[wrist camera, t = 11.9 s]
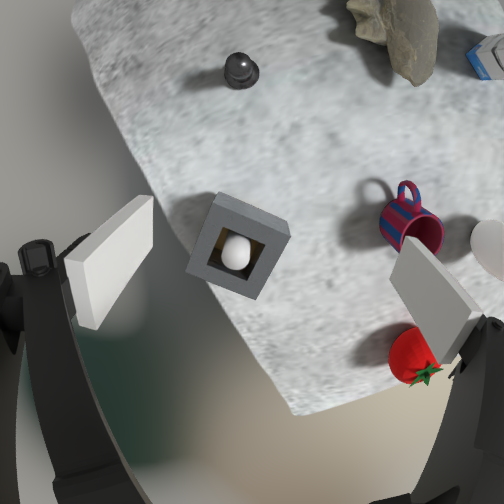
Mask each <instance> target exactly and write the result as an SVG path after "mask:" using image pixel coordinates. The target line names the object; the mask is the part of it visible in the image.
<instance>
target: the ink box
mask: <svg viewBox="0 0 504 504" xmlns="http://www.w3.org/2000/svg"><path fill="white" fill-rule="evenodd" d="M466 56H467V58H468V60H469V61H470V63H471V64H472V66H473V68H474V69H475V71H476V73H477V74H478V76H479V77H480V79H481V80H504V34H497V35H492V36H487V37H486V38H485V39H484V40H482V41H481V42H480V43H479V44H477V45H476V46H475V47H474V48H472V49H471V50H470V51H469V52H468V53H466Z"/></svg>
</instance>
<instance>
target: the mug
mask: <svg viewBox="0 0 504 504" xmlns="http://www.w3.org/2000/svg"><path fill="white" fill-rule="evenodd" d="M405 185H406V186H407V187H408V188H409V189H410V191H411V193H412V196H413V201H414V202H413V201H412V200H410V199H407V198H405V193H404V191H405ZM380 231H381V233H382V235H383V237H384V238H385V239H386V240H387V241H388V242H389V243H390V244H391V245H392V246H393V248H394V249H395V250H396V251H397V252H398V253H400V250H401V248H402V245H403V242H404V239H405V236H410V237H415V238H417V239H418V240H419V241H420V242H421V243H422V244H423V245H424V246H425V247H426V248H427V249H428V250H429V251H430V252H431V253H432V254H433V255H434V256H436V255H437V253H438V252H439V250H440V248H441V246H442V244H443V240H444V228H443V224H442V222H441V221H440V219H439V218H438V217H436V216H435V215H434V214H432V213H431V212H429V211H428V210H426V209H424V208H423V207H421V197H420V193H419V190H418V188H417V187H416V185H415V184H414V183H413V182H411V181H408V180H406V181H402V182H400V184H399V186H398V195H397V199H395V200H393V201H392V202H390V203H389V204H388V205H387V206H386V207H385V208H384V210H383V212H382V214H381V217H380Z"/></svg>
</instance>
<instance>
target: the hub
mask: <svg viewBox="0 0 504 504" xmlns="http://www.w3.org/2000/svg"><path fill="white" fill-rule="evenodd" d="M257 244H258V241H256V240H253V239H251V238H249V237H246V236H244V235H242V234H239V233H237V232H235V231H232V230H230V229H228V228H225V227H222V230H221V232H220V234H219V237H218V239H217V241H216V244H215V248H218V249H220V250H222V256H221V257H222V262H223V263H224V265H225V266H226V267H228V268H230V269H233V270H239V269H242V268H244V267H245V266H246V265H247V264H248V262H249V260H250V258H251V256H252V254H253V252H254V250H255V248H256V246H257Z"/></svg>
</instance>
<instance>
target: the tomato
mask: <svg viewBox="0 0 504 504" xmlns="http://www.w3.org/2000/svg"><path fill="white" fill-rule="evenodd" d="M441 365H442V364H440V365H438V363H437V361H436V359H435V357H434V355H433V353H432V351H431V349H430V347H429V346H428V344H427V342H426V340H425V338H424V337H423V335H422V333H421V331H420V329H419V328H418V327H415V328H411V329H409V330H407V331H405V332H403V333H402V334H401V335H400V336H399V337H398V338H397V339H396V340H395V342H394V343H393V345H392V347H391V349H390V352H389V366H390V369H391V372H392V373H393V375H394V376H395V377H396V378H397V379H398V380H400V381H401V382H404V383H406V384H411V385H410V386H412V385H414V384H415V383H419V382H422V381H424V383H425V384H426V385H427V386H428V384H429V380H430V377H431V376H432V375H433V374H434V373H435V372H438V371H440V370H443V369H441V368H439V367H440V366H441Z"/></svg>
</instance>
